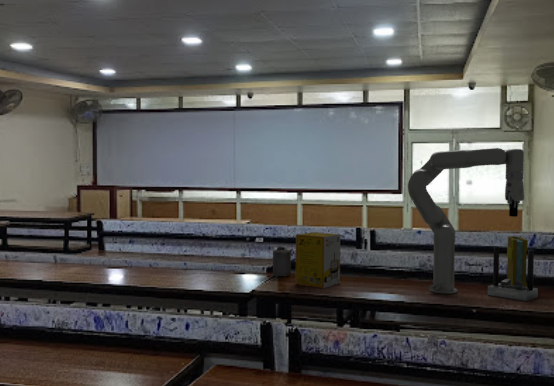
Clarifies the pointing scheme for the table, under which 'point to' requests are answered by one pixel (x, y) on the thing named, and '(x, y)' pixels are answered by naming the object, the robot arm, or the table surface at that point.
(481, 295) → the table surface
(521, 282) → the paddle
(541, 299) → the table surface
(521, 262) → the book
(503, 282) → the paddle
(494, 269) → the gray double-post stand
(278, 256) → the gray lidded canister
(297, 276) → the packaging box
